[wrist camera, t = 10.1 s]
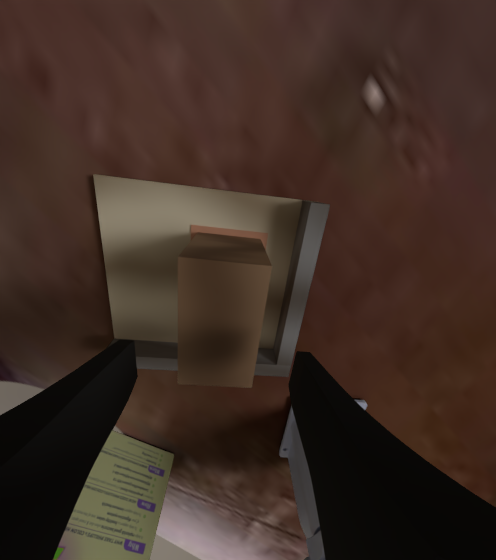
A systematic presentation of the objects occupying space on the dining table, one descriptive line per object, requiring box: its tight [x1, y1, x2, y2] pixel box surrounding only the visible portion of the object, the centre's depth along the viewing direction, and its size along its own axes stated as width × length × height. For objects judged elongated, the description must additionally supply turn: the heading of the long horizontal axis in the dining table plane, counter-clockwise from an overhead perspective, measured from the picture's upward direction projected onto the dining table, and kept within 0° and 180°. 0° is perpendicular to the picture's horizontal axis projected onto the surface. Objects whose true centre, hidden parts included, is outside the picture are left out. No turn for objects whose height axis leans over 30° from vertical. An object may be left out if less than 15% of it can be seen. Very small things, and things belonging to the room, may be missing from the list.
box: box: [53, 430, 174, 560], centre depth 21 cm, size 10×6×12 cm, turn 52°
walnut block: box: [178, 232, 272, 388], centre depth 15 cm, size 4×8×6 cm, turn 173°
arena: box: [93, 174, 330, 377], centre depth 17 cm, size 14×15×3 cm
